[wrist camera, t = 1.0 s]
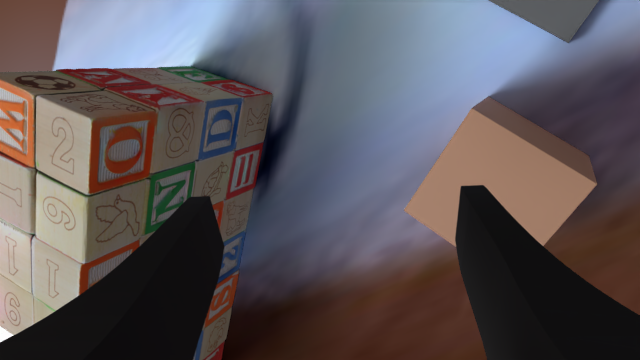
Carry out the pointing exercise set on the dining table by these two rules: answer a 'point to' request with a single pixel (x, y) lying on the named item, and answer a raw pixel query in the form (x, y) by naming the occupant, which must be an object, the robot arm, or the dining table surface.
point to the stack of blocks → (118, 178)
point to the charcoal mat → (551, 14)
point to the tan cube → (505, 173)
